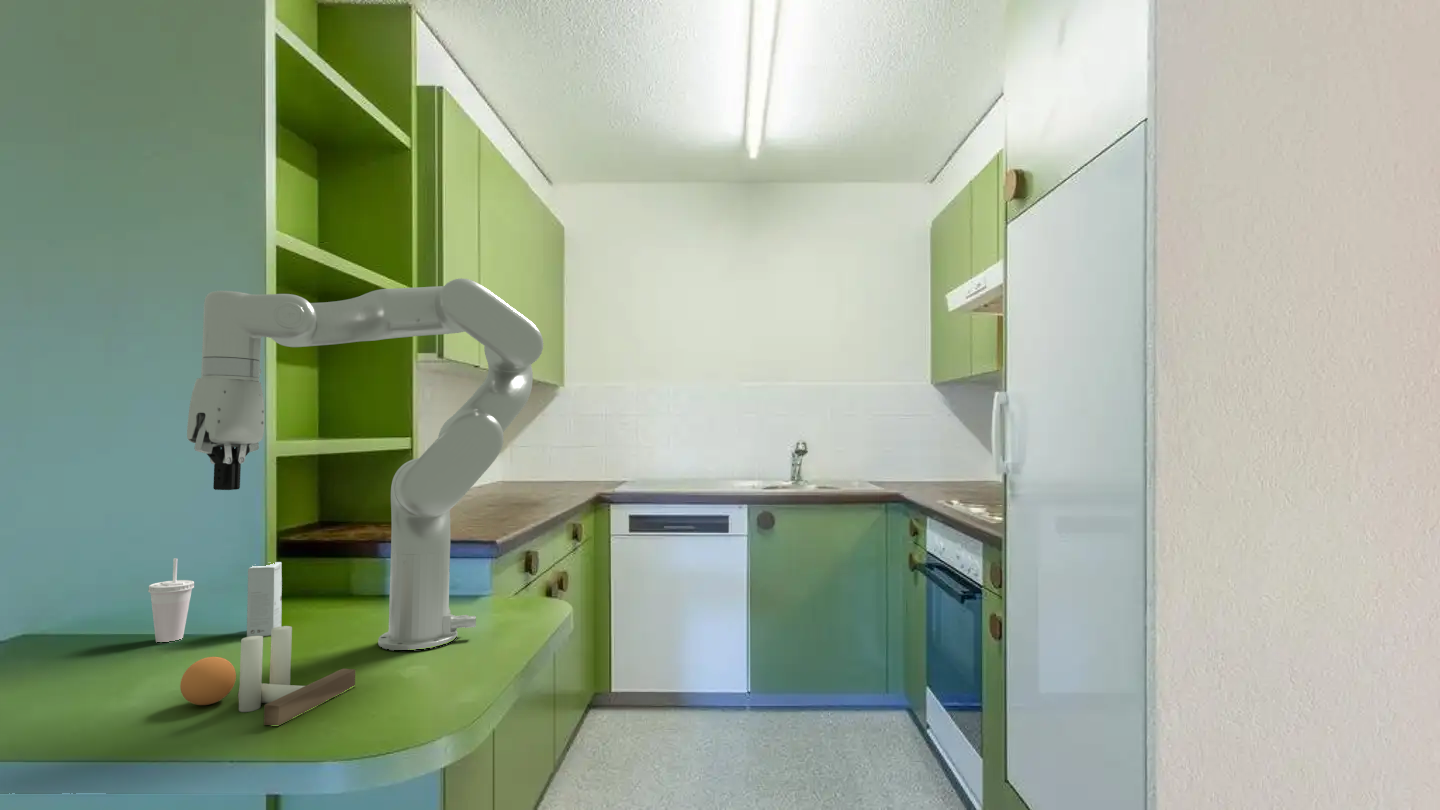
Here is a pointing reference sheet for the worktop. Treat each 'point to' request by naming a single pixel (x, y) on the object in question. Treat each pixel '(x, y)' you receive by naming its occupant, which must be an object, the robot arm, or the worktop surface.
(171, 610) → the smoothie
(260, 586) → the skincare box
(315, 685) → the brown wooden bar
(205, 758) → the worktop surface
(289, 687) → the pin front
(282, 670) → the pin right
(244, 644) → the pin left
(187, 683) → the brown egg
